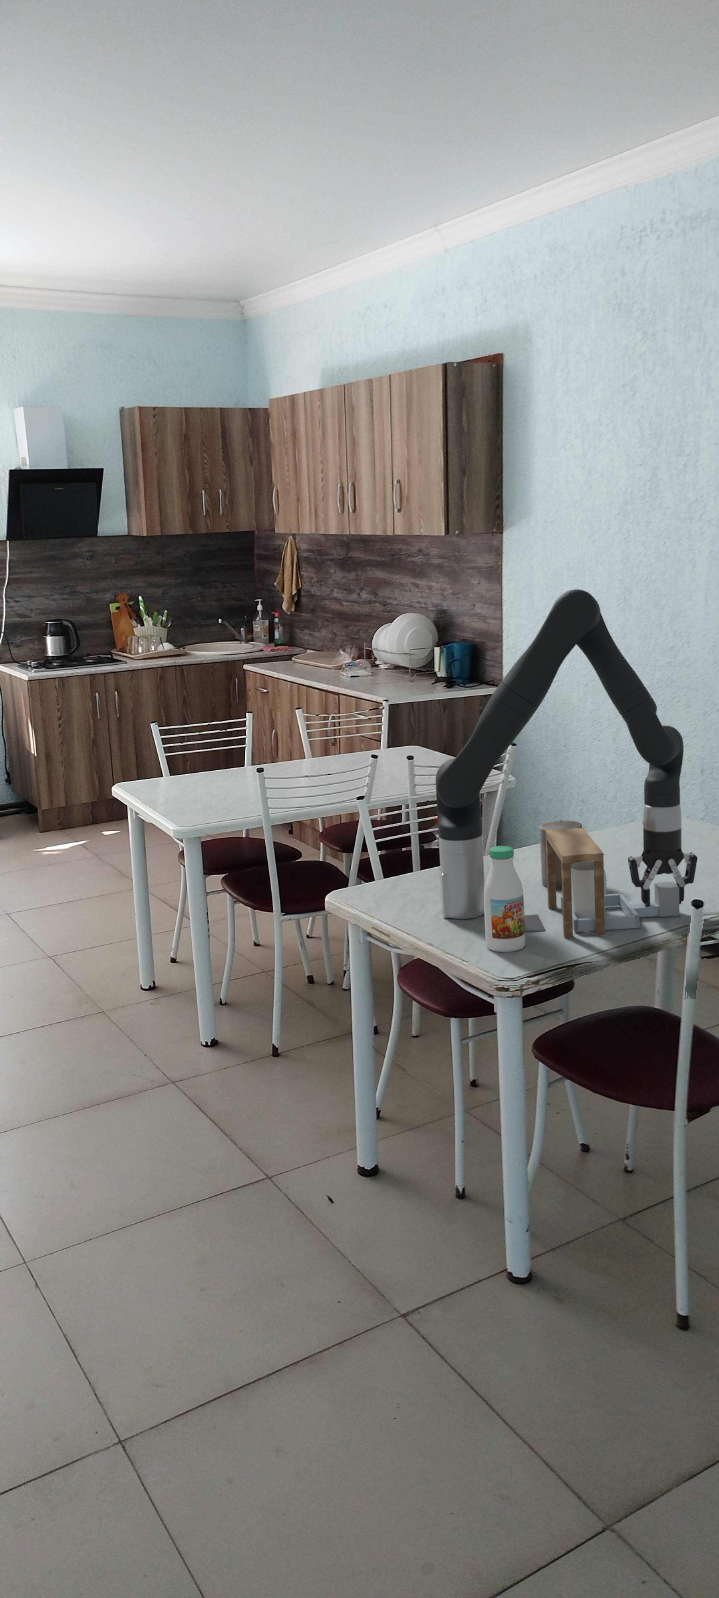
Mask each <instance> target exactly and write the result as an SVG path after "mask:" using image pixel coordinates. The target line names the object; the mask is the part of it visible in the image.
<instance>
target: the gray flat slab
mask: <svg viewBox="0 0 719 1598" xmlns="http://www.w3.org/2000/svg"><path fill="white" fill-rule="evenodd" d="M524 917H525V934H526V933H536V932H538V933H539V932H546V928H545V926H544V924H543V922H542V920H541V918H540V916H539V914H524Z"/></svg>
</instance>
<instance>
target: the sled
mask: <svg viewBox="0 0 719 1598" xmlns="http://www.w3.org/2000/svg"><path fill="white" fill-rule="evenodd" d="M653 885H654V886H653V887H654V901H653V902H651V901H650V906H646V905H645V904H644V903H643V902H637V903H630V902H629V900H628V899H627V898H626V897H625V895H624V894H623V892H622V893H611V894H609V893H608V894H605V900H604V902H605V907H620V909H621V910H622V911H623V913H624V914H625V915H619V916H618V915H617V916H605V931H608V930H622V929H623V930H624V929H637V928H639V929H640V918H649V917H650V918H651V917H662V918H663V917H675V916H680V904H679V887H678V886H677V885H676V881H665V882H654V884H653ZM560 906H561V907H560V908H561V911H562V912H563V904H562V897H560ZM572 920H573V933H579V932H580V933H581V932H594V931H595V918H585V919H577V917H576V916H575V914H574V912H573V911H572ZM595 932H596V931H595Z"/></svg>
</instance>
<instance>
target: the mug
mask: <svg viewBox="0 0 719 1598" xmlns="http://www.w3.org/2000/svg"><path fill="white" fill-rule="evenodd" d="M571 887H572V911H573V912H574V914H575V916H576V917H577V919H585V918H595V892H594V861H590V862H576V863H573V864H571ZM606 892H607V874H606V870H605V869H604V900H605V895H606Z"/></svg>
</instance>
